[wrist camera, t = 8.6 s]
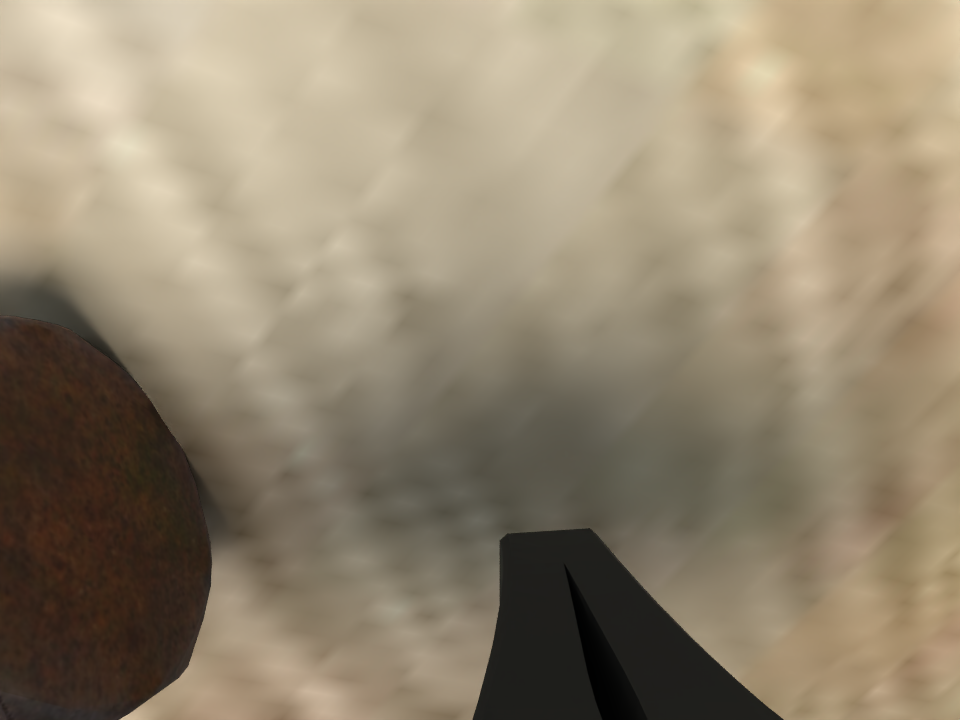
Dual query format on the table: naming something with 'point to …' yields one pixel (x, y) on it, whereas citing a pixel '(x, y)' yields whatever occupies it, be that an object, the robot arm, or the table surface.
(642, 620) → the robot arm
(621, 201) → the table surface
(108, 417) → the bolt
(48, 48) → the table surface
